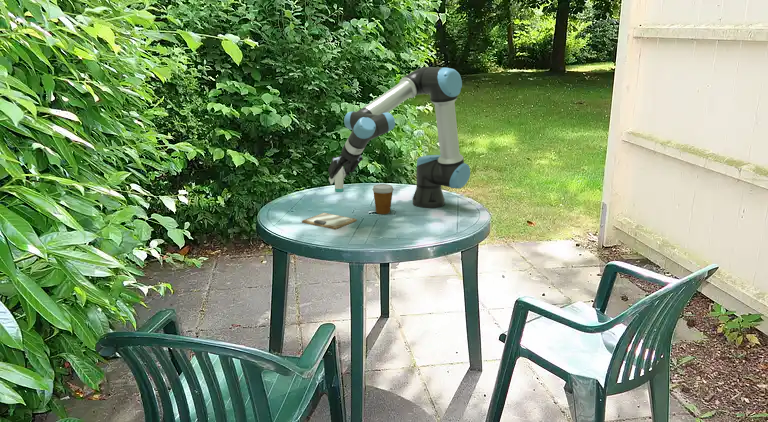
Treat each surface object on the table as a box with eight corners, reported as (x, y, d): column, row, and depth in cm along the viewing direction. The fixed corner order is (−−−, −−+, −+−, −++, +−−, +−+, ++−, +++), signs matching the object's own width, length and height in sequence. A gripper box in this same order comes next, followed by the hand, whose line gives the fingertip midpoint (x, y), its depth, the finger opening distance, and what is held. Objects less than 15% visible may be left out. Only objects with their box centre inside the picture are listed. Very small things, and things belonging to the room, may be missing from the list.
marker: (345, 191, 261) (345, 160, 258) (340, 192, 258) (339, 162, 255) (338, 189, 263) (337, 159, 260) (332, 191, 260) (332, 161, 257)
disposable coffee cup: (391, 215, 275) (391, 189, 272) (370, 214, 277) (370, 188, 274) (395, 210, 284) (395, 184, 281) (375, 208, 286) (374, 183, 283)
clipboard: (356, 220, 268) (356, 216, 267) (335, 229, 256) (335, 225, 255) (324, 214, 277) (323, 210, 277) (302, 222, 265) (301, 218, 265)
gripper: (338, 157, 239) (320, 190, 257) (375, 153, 248) (355, 186, 266) (331, 142, 242) (314, 175, 260) (368, 138, 251) (349, 171, 269)
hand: (334, 180), depth 263 cm, fingers closed on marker, 3 cm apart
